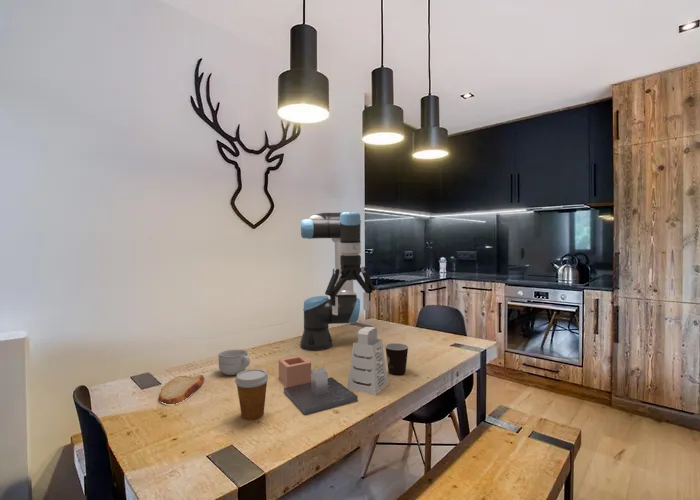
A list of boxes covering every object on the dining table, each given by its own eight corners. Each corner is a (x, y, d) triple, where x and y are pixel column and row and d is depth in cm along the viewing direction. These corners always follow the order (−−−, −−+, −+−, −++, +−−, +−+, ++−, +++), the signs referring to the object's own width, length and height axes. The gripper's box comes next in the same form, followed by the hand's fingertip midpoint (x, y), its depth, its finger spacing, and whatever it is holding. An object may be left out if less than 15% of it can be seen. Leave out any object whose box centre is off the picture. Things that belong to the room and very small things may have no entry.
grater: (388, 383, 129) (387, 327, 128) (375, 394, 120) (375, 334, 119) (361, 378, 134) (361, 324, 133) (347, 388, 125) (346, 330, 124)
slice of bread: (168, 409, 112) (167, 397, 112) (144, 393, 124) (144, 382, 123) (221, 390, 126) (221, 379, 125) (196, 377, 137) (196, 367, 137)
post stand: (283, 392, 122) (283, 367, 122) (331, 381, 131) (331, 358, 131) (304, 414, 107) (304, 386, 106) (357, 400, 116) (357, 374, 115)
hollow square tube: (278, 378, 134) (278, 359, 134) (301, 373, 139) (301, 355, 139) (287, 387, 127) (286, 367, 126) (311, 381, 131) (311, 362, 131)
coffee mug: (407, 377, 134) (407, 350, 134) (384, 376, 136) (384, 349, 135) (409, 366, 145) (409, 341, 145) (387, 365, 147) (387, 340, 147)
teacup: (213, 373, 141) (213, 352, 140) (238, 365, 149) (238, 346, 148) (232, 382, 131) (231, 360, 131) (258, 374, 139) (257, 353, 139)
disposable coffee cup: (270, 419, 104) (269, 378, 104) (235, 425, 101) (234, 382, 101) (268, 405, 113) (267, 366, 113) (235, 409, 110) (235, 370, 110)
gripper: (325, 256, 124) (326, 318, 125) (383, 253, 137) (384, 309, 138) (315, 255, 130) (316, 314, 131) (372, 253, 144) (372, 306, 145)
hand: (351, 312), depth 135 cm, fingers open, 13 cm apart
